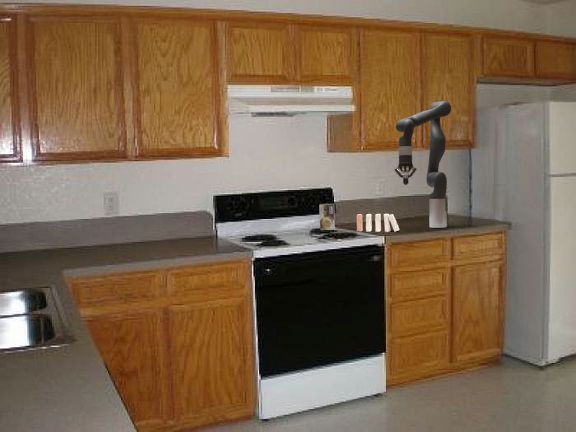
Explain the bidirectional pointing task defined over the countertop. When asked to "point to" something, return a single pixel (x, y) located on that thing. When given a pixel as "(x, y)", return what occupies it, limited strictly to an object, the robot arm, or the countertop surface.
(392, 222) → the domino
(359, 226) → the domino
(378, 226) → the domino
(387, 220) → the domino
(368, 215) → the domino
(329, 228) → the coffee box
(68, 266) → the countertop surface
